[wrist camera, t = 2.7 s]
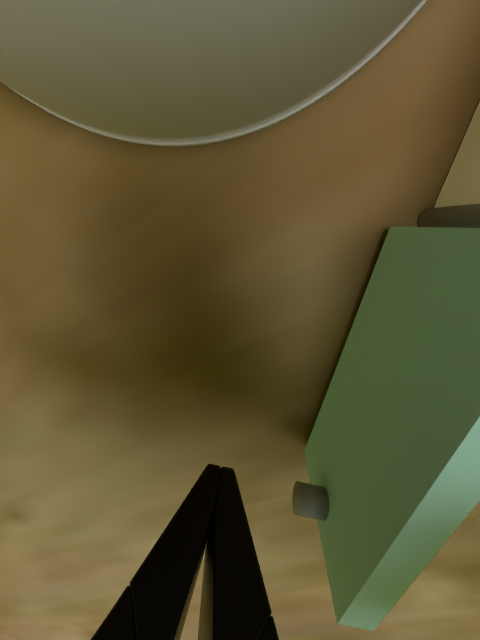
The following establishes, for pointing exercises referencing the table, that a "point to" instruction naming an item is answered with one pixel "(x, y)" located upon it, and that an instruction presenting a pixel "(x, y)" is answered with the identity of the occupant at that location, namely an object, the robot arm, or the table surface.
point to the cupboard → (460, 186)
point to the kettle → (188, 61)
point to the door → (399, 423)
